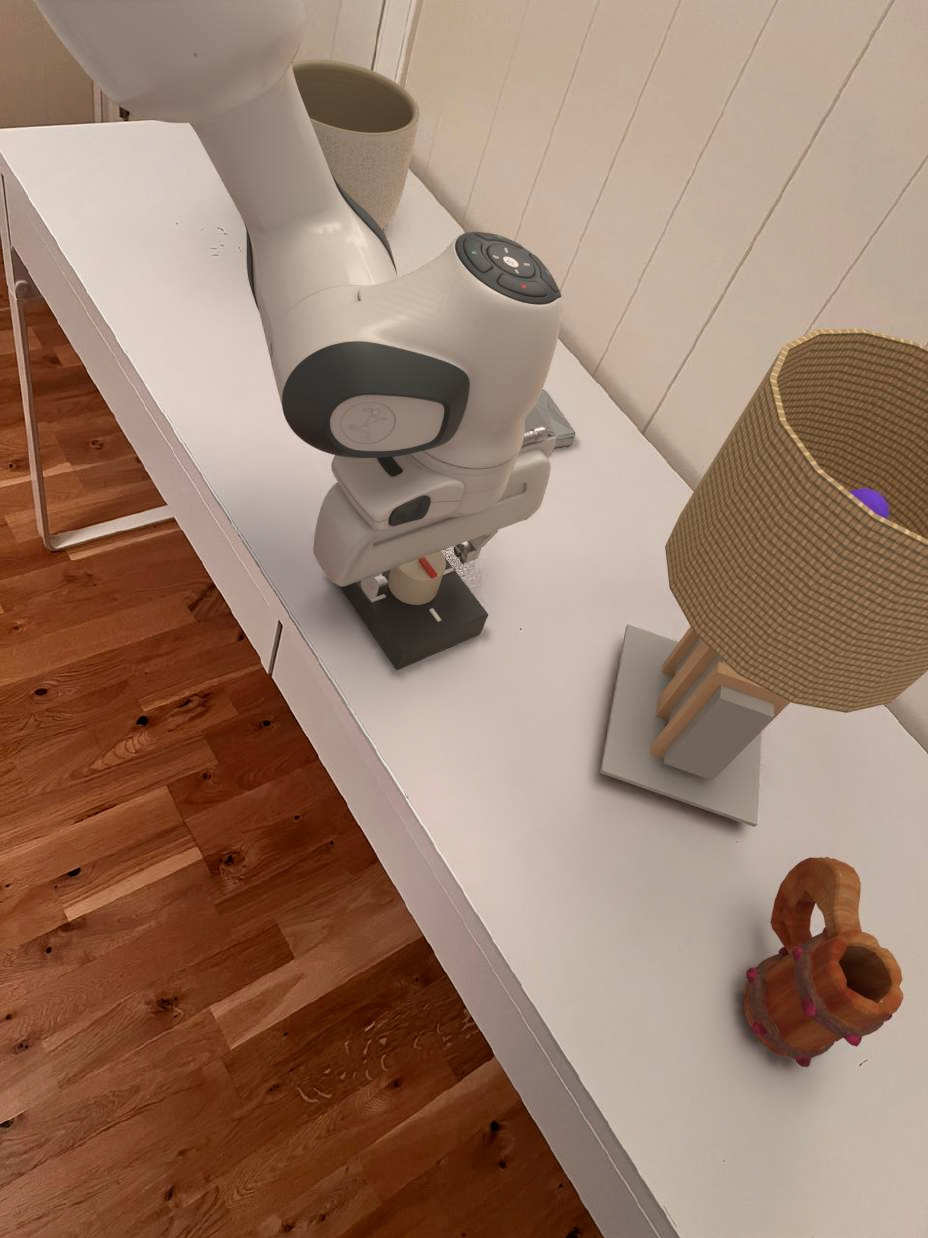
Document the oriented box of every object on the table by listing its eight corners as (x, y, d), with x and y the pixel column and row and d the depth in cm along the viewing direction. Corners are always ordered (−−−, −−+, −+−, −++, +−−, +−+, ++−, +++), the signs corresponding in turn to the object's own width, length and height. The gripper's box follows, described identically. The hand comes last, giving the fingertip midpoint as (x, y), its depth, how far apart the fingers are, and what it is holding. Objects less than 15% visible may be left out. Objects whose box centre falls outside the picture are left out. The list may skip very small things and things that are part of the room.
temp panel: (332, 577, 81) (337, 555, 78) (415, 547, 85) (422, 525, 83) (396, 670, 76) (403, 650, 74) (480, 634, 81) (489, 613, 78)
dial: (378, 574, 78) (385, 546, 75) (420, 559, 80) (428, 531, 77) (405, 611, 77) (413, 584, 74) (447, 595, 79) (456, 567, 76)
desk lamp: (590, 613, 85) (774, 290, 58) (783, 681, 86) (1056, 393, 58) (552, 790, 73) (763, 487, 46) (777, 869, 74) (1119, 616, 46)
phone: (575, 445, 99) (578, 436, 98) (446, 467, 93) (449, 458, 92) (541, 396, 103) (544, 387, 102) (415, 413, 96) (417, 404, 95)
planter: (424, 236, 117) (449, 117, 106) (327, 273, 108) (343, 147, 96) (334, 170, 122) (349, 49, 110) (234, 200, 112) (239, 71, 100)
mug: (828, 1077, 64) (941, 1037, 55) (741, 1071, 63) (840, 1030, 54) (792, 907, 72) (886, 846, 62) (714, 899, 71) (796, 835, 61)
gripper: (538, 396, 72) (495, 513, 83) (311, 460, 62) (296, 584, 73) (585, 448, 70) (535, 561, 81) (357, 524, 60) (334, 642, 71)
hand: (420, 573), depth 77 cm, fingers open, 8 cm apart
